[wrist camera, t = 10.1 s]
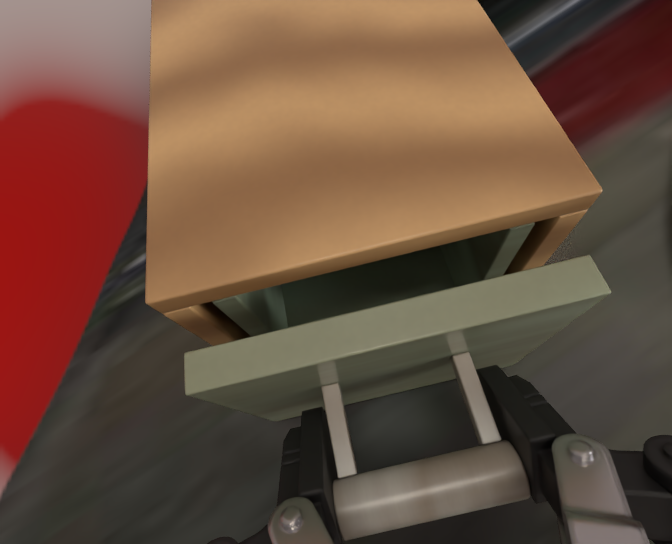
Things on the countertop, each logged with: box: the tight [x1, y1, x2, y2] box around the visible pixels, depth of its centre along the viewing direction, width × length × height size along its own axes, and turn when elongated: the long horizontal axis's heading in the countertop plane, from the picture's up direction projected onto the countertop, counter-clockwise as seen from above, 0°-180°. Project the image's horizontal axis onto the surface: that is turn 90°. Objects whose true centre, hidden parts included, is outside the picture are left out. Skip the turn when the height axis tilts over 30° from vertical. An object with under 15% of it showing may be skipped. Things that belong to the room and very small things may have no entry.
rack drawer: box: [184, 222, 611, 541], centre depth 16 cm, size 19×12×9 cm, turn 12°
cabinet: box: [145, 0, 602, 346], centre depth 19 cm, size 16×13×11 cm
